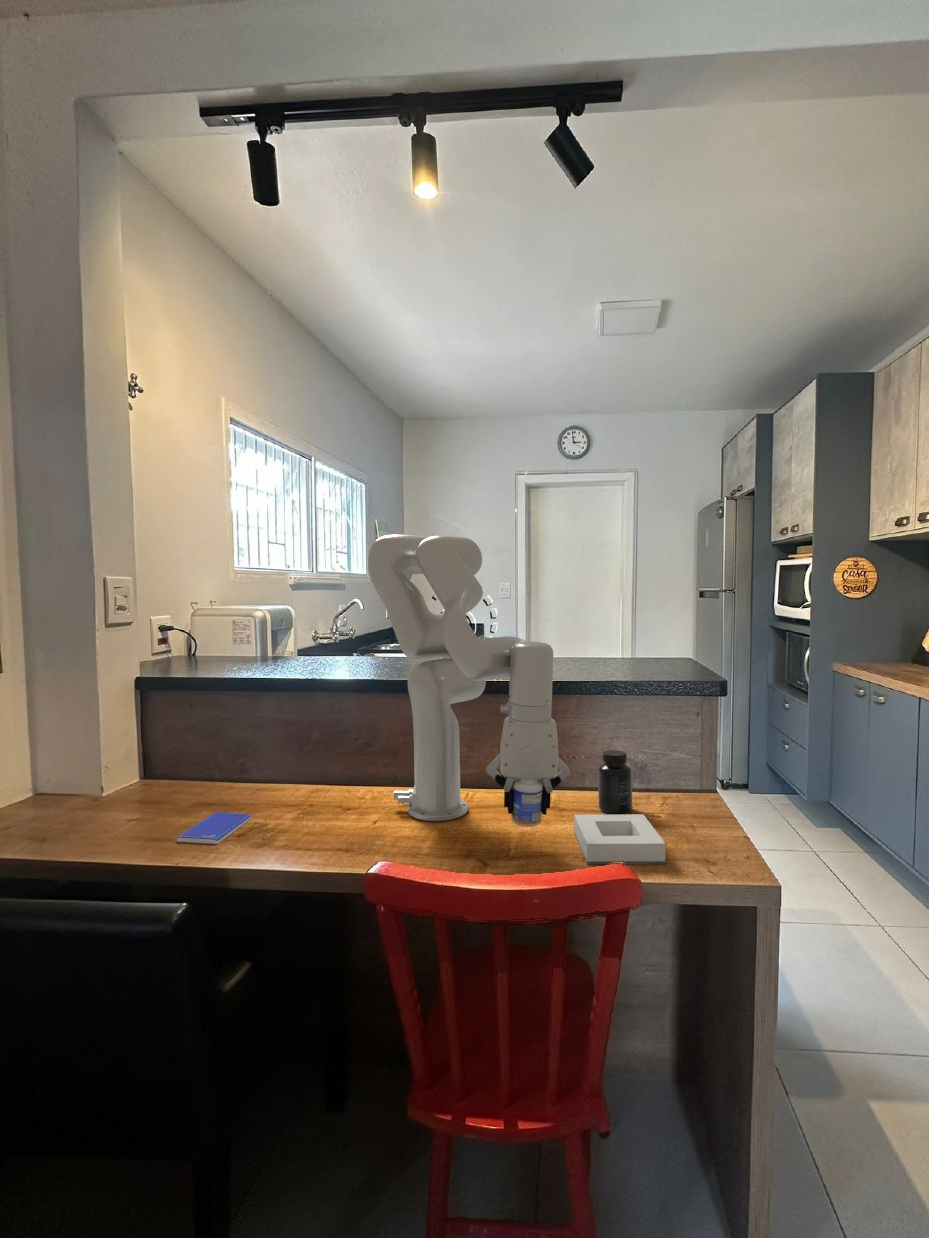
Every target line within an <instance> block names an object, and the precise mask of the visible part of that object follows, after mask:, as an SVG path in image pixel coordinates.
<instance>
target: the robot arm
mask: <svg viewBox="0 0 929 1238" xmlns="http://www.w3.org/2000/svg"><path fill="white" fill-rule="evenodd" d="M367 558H368V559H367V567H368V573H369V577H370V580H371V583H372V585H373V587H374V589H375V591H376V593H377V594H378V596H379V598H380V600H381V602H382V603H383V605H384V608H385V610H386V613H387V615H388V617H389V621H390V624H391V626H392V629H393V632H394V634H395V636H396V639H397V642H398V645H399V647H400V650H401V651H402V653H403V655H404V656H406V658H409V659H413V660H421V659H423V660H425V659H430V660H425V661H423V662H420V663H418V664H416V665H415V666H414V667H413V668H412V669H411V670H410V672H409V675H408V677H407V691H408V695H409V700H410V706H411V710H412V711H411V712H412V724H413V725H412V726H413V727H412V728H413V729H412V730H413V764H414V765H413V767H414V768H413V769H414V770H413V771H414V785H413V788H410V789H408V790H393V801H397V803H398V804H405V803H408V804H407V814H409V816H411V817H412V818H414V819H417V820H420V821H426V822H428V821H429V822H443V821H445V822H446V821H451V820H454V819H458V818H460V817H462V816H464V815H466V814H467V812H468V809H469V808H468V807H469V805H468V802H467V801H466V800H465V799H463V798H461V762H460V761H461V759H460V758H461V757H460V756H461V754H460V753H461V751H460V748H461V746H460V724H459V722H458V719H457V717H456V714H455V713H454V711H453V709H452V707H451V705H452V704H456V703H462V702H467V701H472V700H475V699H477V698H479V697H480V696H481V695H482V694H483V693H484V691H485V688H486V683H487V680H488V681H489V680H496V679H502V678H504V679H505V678H509V683H508V684H509V685H508V686H509V688H508V689H509V691H508V702H506V703H505V704H500V713H504V714H506V715H507V716H506V717H505V718H504V721H503V725H502V733H501V737H500V748H499V752H498V753H499V754H497V755H496V756H495V758H494V759H493V760H492V761H491V762H490V763H489V764H487V766H486V767H485V772H486V774H488V776H490V777H491V778H492V779H493V780H495V782H496V783H497V784H498V785H499V786H500V787H501V788H502V789H503V790H504V794H503V795H504V797H503V798H504V799H503V807H504V808H507V814H508V815H512V812H513V781H514V780H515V779H516V778H525V779H539V780H542V783H543V794H542V815H544V816H547V812H548V811H547V810H548V809H550V808H551V795H552V794H551V793H553V790H554V789H555V788H557V787H558V786H559V784H561V783H562V781H564V780H566V779H567V778H568V777H570V776H571V771H570V770H571V769H569V767H568V766H567V765H566V764H565V763H564V762H563V760H562V759H561V758H560V756H559V739H558V738H559V737H558V729H557V723H556V721H555V719H553V718H552V708H553V707H552V706H553V703H552V701H553V678H554V677H553V671H554V649H553V647H552V646H551V645H550V644H548V643H546V642H542V641H541V642H540V641H528V640H525V639H522V638H520V637H516V636H511V635H510V636H509V635H507V636H506V635H505V636H498V637H497V636H494V637H483V638H482V637H481V638H479V637H478V636H477V635H476V633H475V632H474V630H473V628H472V627H471V625H470V623H469V621H468V618H467V613H469V612H470V611H471V610H473V609H474V608H475V607H477V605H478V604H479V603H480V601H481V600H482V598H483V595H484V589H483V587H482V585H481V583H480V582H479V580H478V579H477V578H476V576H475V575H476V574H478V572H479V571H480V569H481V568H482V564H483V555H482V552H481V549H480V547H479V546H478V544H477V543H476V542H475V541H474V540H473V539H470V538H469V537H463V536H449V535H434V536H427V535H426V536H425V535H412V534H411V535H410V534H387V535H382V536H380V537H378V538H377V539H375V540H374V542H373V543H372V544H371V546H370V548H369V552H368V557H367ZM406 575H424V577H425V579H426V580H427V583H428V584H429V585H430V588H431V589H432V590H433V592H434V594H435V595H436V597H437V599H438V601H439V603H440V604H441V606H442V608H443V609H444V611H443V613H433V612H431V611H430V610H429V608H428V607H429V606H428V605H427V604H426V601H425V598H424V596H423V593H422V591H420V589H419V588H418V587H417V586H416V584H415V583H413V582H412V581H411V580H410V579H409V578H408V577H407V576H406ZM432 658H438V659H432ZM439 658H440V659H439ZM498 768H499V770H500V772H499V771H498V770H497V769H498Z"/></svg>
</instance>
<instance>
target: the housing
mask: <svg viewBox="0 0 929 1238" xmlns="http://www.w3.org/2000/svg"><path fill="white" fill-rule="evenodd" d="M573 834H574V836H575V838H576V841H577V843H578V846H579V849H580V851H581V853H582V855H583V858H584V859H585V863H586V865H609V864H608V863H612V862H623V863H625V864H624V865H665V864H666V843H665V841H664V840H663V838H662V837H661V835H660V834H659V833H658V832H657V830H656V829H655V828H654V826H653V825H652V823H651V822H650V821H649V820H648V819H647V817H646V816H645V814H644V813H643V814H637V813H636V814H633V813H632V814H629V813H628V814H623V815H613V814H574V815H573Z"/></svg>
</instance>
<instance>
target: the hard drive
mask: <svg viewBox="0 0 929 1238" xmlns="http://www.w3.org/2000/svg"><path fill="white" fill-rule="evenodd" d="M250 820H252V815H251V814H250V813H249V814H248V813H233V812H218V811H217V812H213V813H212V814H210V815H209V816H208V817H206V818H205V819H203V820H201V821H200V822H198V823H197V824H195V825H193V826H192V827H191V828H189V829H187V830H186V831H184V832H183V833H181V834H180V835H178V836H177V838H176V842H177V843H195V844H196V843H197V844H211V845H212V844H214V845H218V844H220V843H221V842H222V841H224V840H225V839H227V838H228V837H229V836H230V835H232V834H233V833H234V832H235V831H237V830H239V829H240V827H241V828H242V826H243V825H245V824H246V823H248V822H249V821H250Z"/></svg>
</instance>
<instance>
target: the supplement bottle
mask: <svg viewBox="0 0 929 1238" xmlns="http://www.w3.org/2000/svg"><path fill="white" fill-rule="evenodd" d="M627 758H628V757H627V752H626V751H623V750H615V749H612V750H611V749H610V750H605V751H603V752H602V762H603V763H601V765H599V767H598V770H597V776H598V777H597V783H598V809H599V810H600V811H601V812H602V813H605V814H607V815H628V814H629V813H631V812H632V810H633V771H632V769H631V767H630V766H629V765H628V764H627V762H628V759H627Z"/></svg>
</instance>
